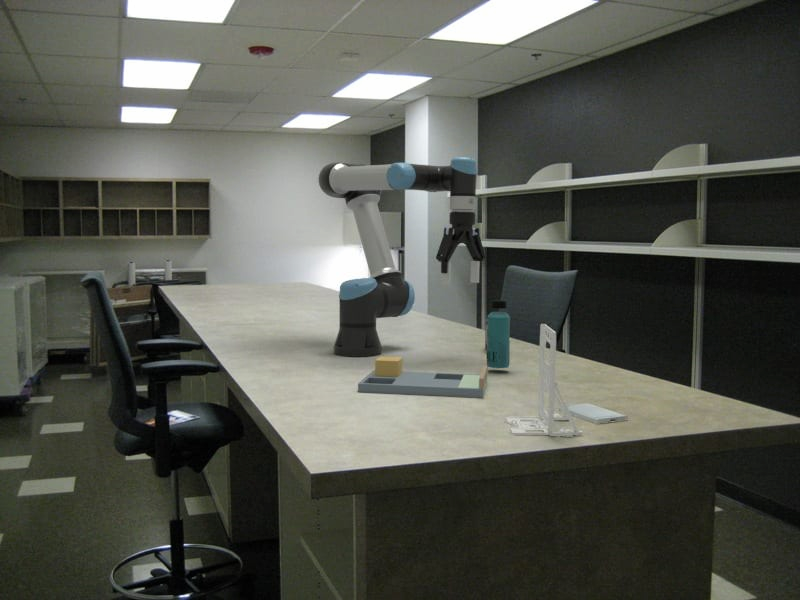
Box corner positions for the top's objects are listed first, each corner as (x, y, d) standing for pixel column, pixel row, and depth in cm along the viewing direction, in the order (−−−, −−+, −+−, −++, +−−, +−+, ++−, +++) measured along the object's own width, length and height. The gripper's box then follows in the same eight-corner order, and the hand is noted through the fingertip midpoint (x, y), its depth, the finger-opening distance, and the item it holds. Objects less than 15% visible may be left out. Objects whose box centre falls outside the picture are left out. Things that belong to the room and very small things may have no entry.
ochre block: (375, 375, 190) (375, 360, 189) (379, 371, 196) (379, 356, 195) (398, 376, 189) (398, 361, 188) (402, 372, 195) (402, 357, 194)
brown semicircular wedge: (507, 354, 236) (508, 323, 236) (488, 354, 237) (488, 323, 236) (503, 348, 249) (503, 319, 248) (484, 348, 249) (485, 318, 248)
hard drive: (559, 406, 163) (597, 418, 152) (588, 402, 166) (628, 414, 155) (558, 413, 163) (597, 426, 152) (588, 410, 167) (628, 422, 155)
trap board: (358, 391, 180) (358, 373, 180) (373, 377, 198) (373, 360, 197) (483, 397, 175) (483, 378, 175) (487, 382, 193) (487, 365, 192)
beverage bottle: (512, 370, 210) (514, 299, 208) (505, 374, 204) (507, 301, 202) (490, 368, 212) (491, 298, 210) (482, 372, 206) (484, 300, 204)
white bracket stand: (502, 417, 157) (504, 322, 155) (569, 418, 156) (572, 323, 154) (510, 436, 142) (513, 332, 140) (583, 437, 142) (587, 333, 140)
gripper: (445, 210, 207) (443, 286, 209) (498, 212, 225) (495, 282, 227) (424, 210, 212) (423, 284, 214) (478, 212, 230) (476, 281, 232)
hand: (460, 283), depth 221 cm, fingers open, 13 cm apart
